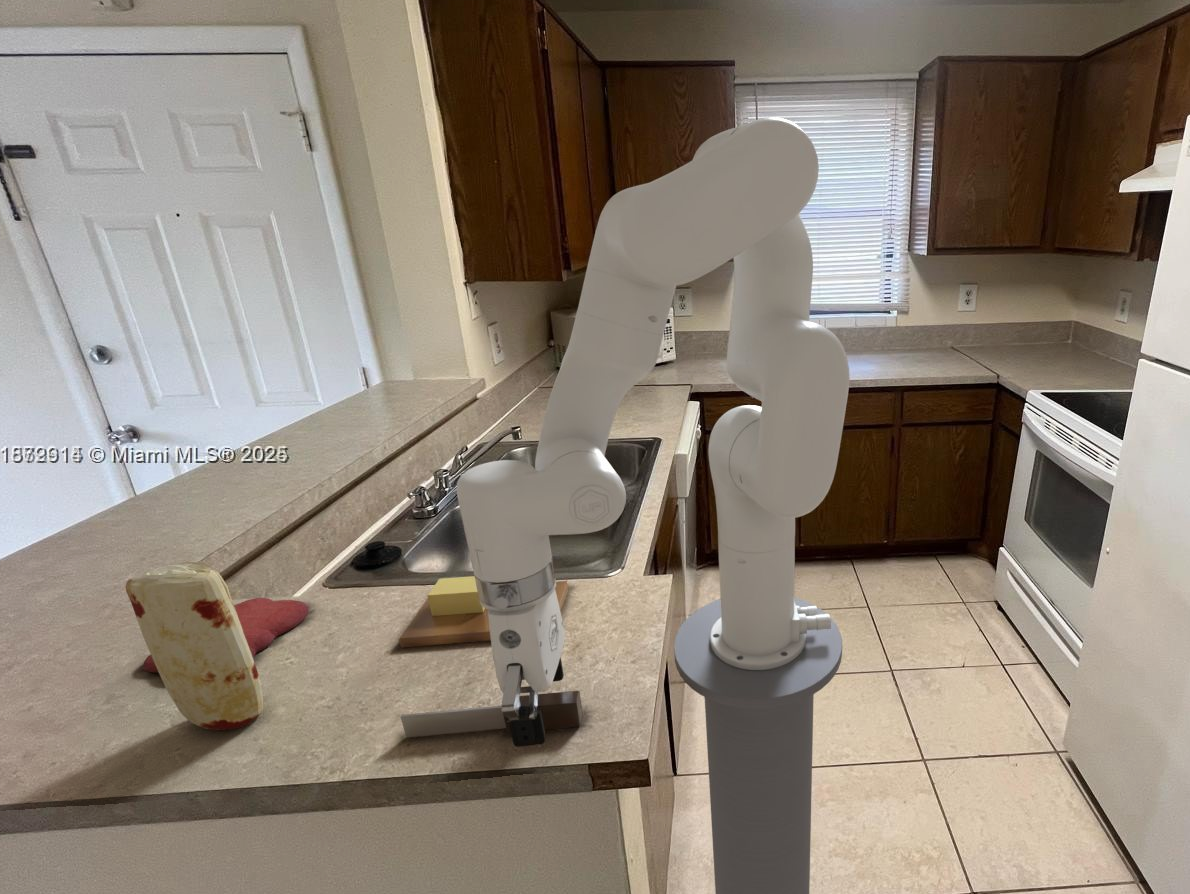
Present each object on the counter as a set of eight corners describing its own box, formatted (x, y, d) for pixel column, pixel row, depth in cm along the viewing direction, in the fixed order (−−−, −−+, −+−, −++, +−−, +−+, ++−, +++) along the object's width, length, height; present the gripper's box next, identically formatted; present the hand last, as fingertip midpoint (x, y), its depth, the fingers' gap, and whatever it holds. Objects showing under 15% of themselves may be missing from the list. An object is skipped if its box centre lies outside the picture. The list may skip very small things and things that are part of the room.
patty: (224, 685, 76) (219, 672, 75) (120, 681, 77) (114, 668, 76) (328, 604, 92) (324, 593, 92) (241, 602, 93) (237, 590, 92)
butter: (492, 595, 92) (488, 575, 90) (483, 612, 87) (479, 591, 86) (443, 598, 91) (439, 578, 90) (431, 616, 87) (427, 595, 85)
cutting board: (569, 588, 96) (567, 580, 95) (553, 635, 85) (551, 626, 84) (435, 598, 94) (433, 589, 93) (400, 647, 82) (398, 638, 82)
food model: (163, 739, 68) (92, 584, 61) (217, 696, 74) (158, 551, 67) (247, 742, 67) (185, 586, 60) (294, 698, 74) (243, 552, 67)
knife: (583, 713, 71) (579, 690, 70) (580, 726, 69) (576, 702, 68) (410, 730, 69) (404, 706, 68) (402, 743, 67) (396, 719, 66)
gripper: (534, 626, 55) (559, 769, 61) (569, 537, 71) (586, 657, 77) (447, 633, 55) (482, 777, 61) (502, 541, 71) (525, 662, 77)
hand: (540, 709), depth 69 cm, fingers open, 9 cm apart
